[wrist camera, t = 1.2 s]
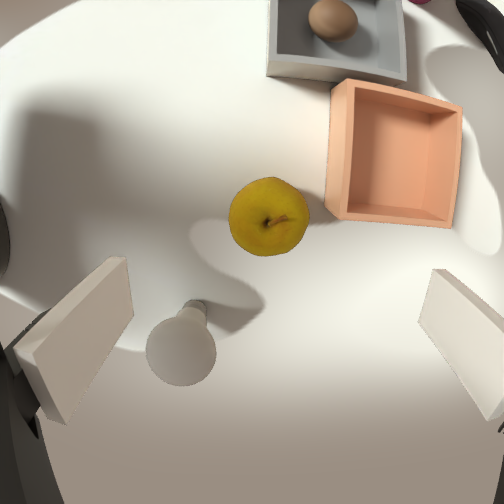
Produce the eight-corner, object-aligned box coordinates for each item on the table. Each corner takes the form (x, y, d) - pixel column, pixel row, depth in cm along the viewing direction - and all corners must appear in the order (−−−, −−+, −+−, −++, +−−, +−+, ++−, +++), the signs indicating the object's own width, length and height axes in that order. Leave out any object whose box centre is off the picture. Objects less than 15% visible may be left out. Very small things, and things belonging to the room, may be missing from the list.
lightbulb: (158, 303, 32) (123, 368, 22) (194, 269, 31) (166, 330, 20) (198, 338, 34) (179, 409, 23) (236, 308, 32) (228, 379, 22)
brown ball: (304, 45, 23) (312, 29, 19) (304, 7, 21) (312, -13, 17) (350, 51, 23) (365, 38, 19) (349, 14, 21) (363, -4, 17)
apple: (308, 182, 28) (327, 196, 20) (291, 245, 30) (302, 280, 22) (241, 165, 27) (235, 173, 20) (226, 231, 29) (216, 261, 22)
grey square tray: (266, 76, 24) (268, 60, 19) (269, -19, 21) (271, -47, 15) (381, 90, 24) (406, 81, 19) (377, -3, 21) (397, -24, 15)
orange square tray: (324, 205, 28) (338, 219, 23) (330, 89, 25) (347, 78, 19) (423, 214, 28) (451, 228, 23) (432, 110, 25) (462, 107, 19)
